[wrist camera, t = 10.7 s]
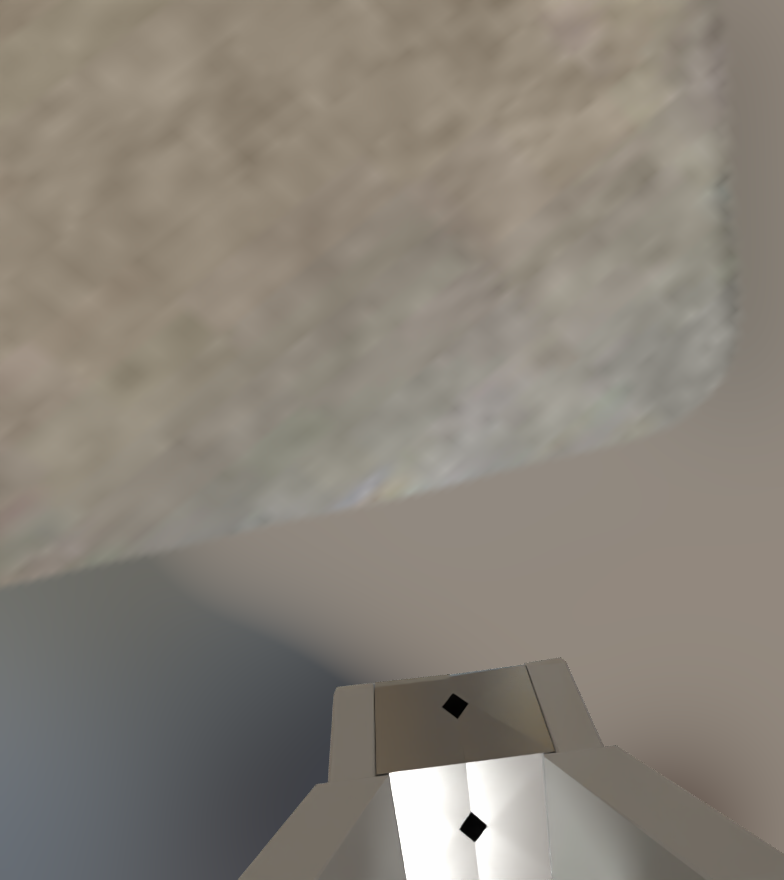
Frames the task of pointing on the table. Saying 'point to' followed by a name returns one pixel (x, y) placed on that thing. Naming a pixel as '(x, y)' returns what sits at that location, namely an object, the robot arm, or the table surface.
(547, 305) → the table surface
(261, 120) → the table surface
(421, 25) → the table surface
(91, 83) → the table surface
